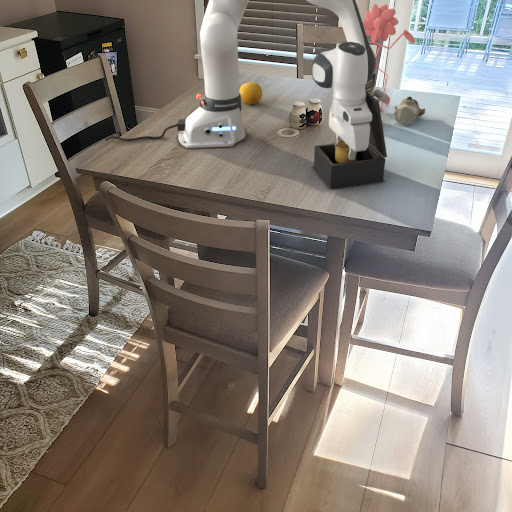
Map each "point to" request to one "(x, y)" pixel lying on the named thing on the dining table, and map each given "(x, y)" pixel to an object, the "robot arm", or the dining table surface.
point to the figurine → (382, 29)
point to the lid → (376, 121)
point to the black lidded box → (349, 167)
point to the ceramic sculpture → (407, 111)
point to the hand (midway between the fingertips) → (346, 154)
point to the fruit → (250, 93)
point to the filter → (342, 152)
